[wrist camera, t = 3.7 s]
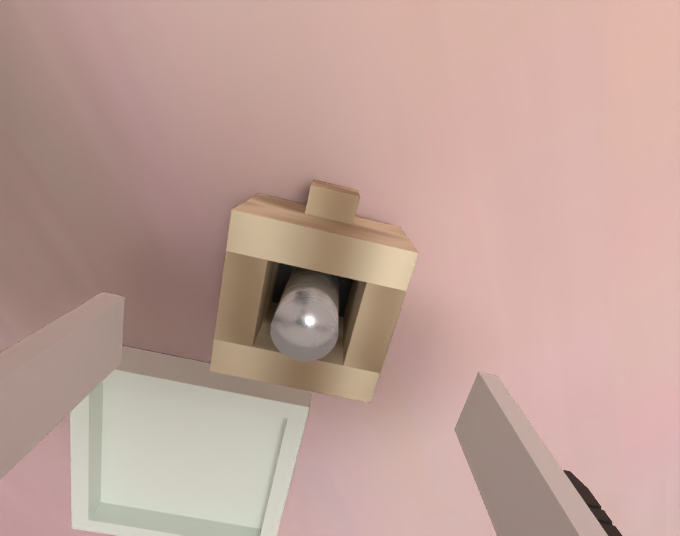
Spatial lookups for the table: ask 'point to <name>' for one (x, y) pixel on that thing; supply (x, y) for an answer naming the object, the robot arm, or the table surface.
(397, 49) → the table surface
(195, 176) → the table surface
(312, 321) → the grey glass rounded piece
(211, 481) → the tray
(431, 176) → the table surface
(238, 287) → the tan wooden frame
